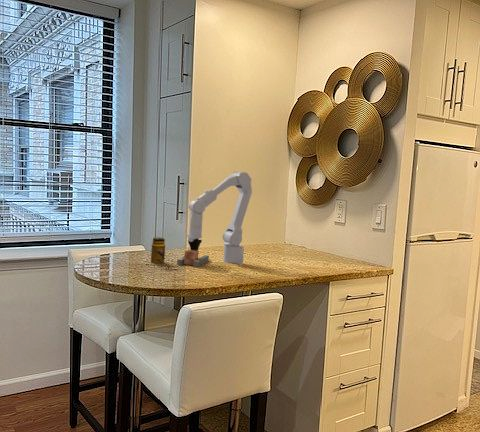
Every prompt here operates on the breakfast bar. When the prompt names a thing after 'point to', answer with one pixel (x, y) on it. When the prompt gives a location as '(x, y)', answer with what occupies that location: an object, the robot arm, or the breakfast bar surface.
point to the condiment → (158, 251)
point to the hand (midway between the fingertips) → (194, 255)
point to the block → (190, 256)
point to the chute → (196, 262)
